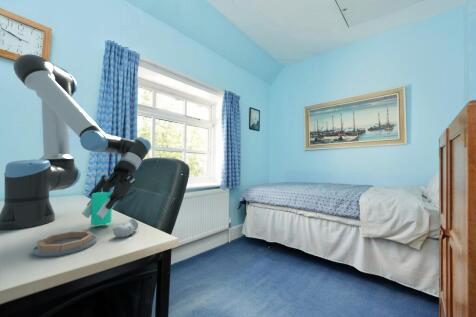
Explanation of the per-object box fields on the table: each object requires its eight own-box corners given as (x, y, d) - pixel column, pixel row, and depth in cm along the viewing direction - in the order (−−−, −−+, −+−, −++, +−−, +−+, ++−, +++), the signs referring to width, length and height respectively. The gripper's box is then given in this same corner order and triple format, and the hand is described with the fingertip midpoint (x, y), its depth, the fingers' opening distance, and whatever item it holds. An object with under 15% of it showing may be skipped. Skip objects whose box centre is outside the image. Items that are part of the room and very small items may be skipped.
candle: (104, 225, 70) (104, 189, 70) (86, 225, 70) (87, 189, 70) (114, 220, 76) (115, 187, 76) (98, 220, 76) (99, 187, 76)
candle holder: (29, 247, 55) (29, 238, 55) (88, 234, 65) (88, 227, 65) (37, 262, 46) (37, 252, 46) (103, 245, 56) (103, 236, 56)
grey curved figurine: (121, 243, 61) (108, 236, 62) (141, 234, 68) (129, 228, 70) (125, 230, 60) (111, 223, 62) (145, 222, 68) (132, 216, 69)
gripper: (150, 172, 87) (121, 223, 71) (113, 171, 90) (76, 220, 74) (143, 159, 82) (110, 211, 65) (103, 159, 85) (62, 208, 68)
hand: (92, 216), depth 70 cm, fingers closed on candle, 5 cm apart
